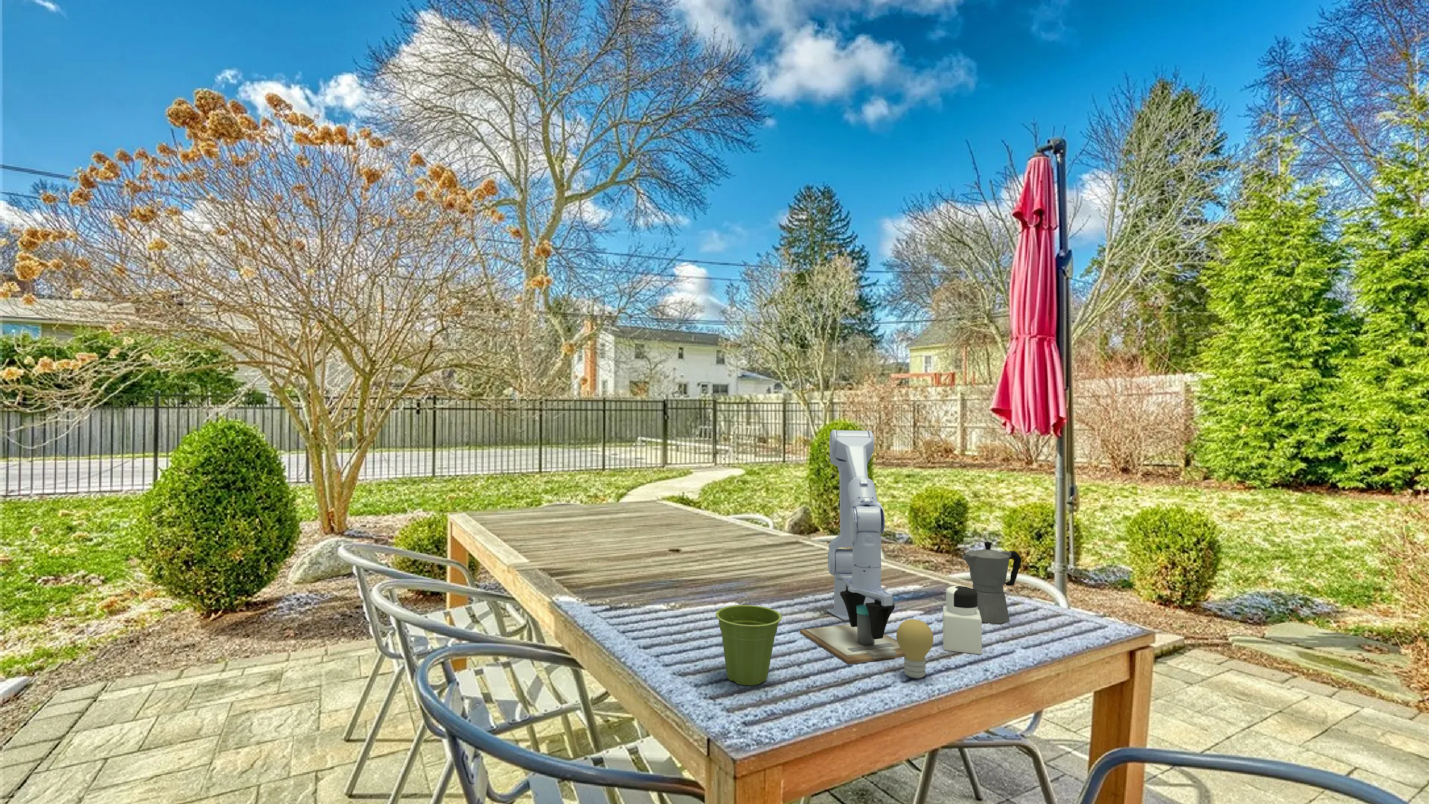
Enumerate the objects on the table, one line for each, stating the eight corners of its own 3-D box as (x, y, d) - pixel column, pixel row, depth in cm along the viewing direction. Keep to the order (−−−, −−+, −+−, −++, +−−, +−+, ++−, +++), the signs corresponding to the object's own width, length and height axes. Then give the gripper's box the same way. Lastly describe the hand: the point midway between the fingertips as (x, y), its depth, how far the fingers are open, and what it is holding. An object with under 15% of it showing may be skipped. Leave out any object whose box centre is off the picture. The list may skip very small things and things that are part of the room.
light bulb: (928, 686, 108) (928, 628, 109) (892, 677, 112) (892, 621, 112) (937, 673, 114) (937, 618, 114) (901, 666, 117) (901, 612, 118)
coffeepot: (975, 626, 142) (975, 546, 142) (951, 613, 151) (951, 538, 151) (1034, 622, 145) (1034, 544, 145) (1007, 610, 154) (1007, 537, 154)
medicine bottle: (979, 643, 130) (979, 585, 131) (981, 655, 124) (981, 594, 124) (942, 639, 133) (942, 582, 133) (943, 650, 126) (943, 590, 126)
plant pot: (732, 697, 103) (732, 628, 104) (704, 670, 114) (705, 608, 114) (793, 686, 108) (794, 620, 108) (761, 661, 119) (762, 602, 119)
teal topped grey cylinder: (868, 639, 129) (868, 604, 130) (878, 644, 126) (878, 608, 126) (853, 641, 128) (853, 605, 128) (863, 646, 125) (862, 609, 125)
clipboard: (862, 625, 141) (862, 619, 141) (919, 655, 123) (919, 648, 123) (799, 632, 136) (799, 626, 136) (849, 665, 117) (849, 658, 117)
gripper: (830, 558, 133) (830, 623, 132) (871, 574, 119) (870, 646, 119) (859, 556, 135) (858, 620, 135) (901, 571, 122) (901, 642, 121)
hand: (866, 632), depth 127 cm, fingers open, 7 cm apart
